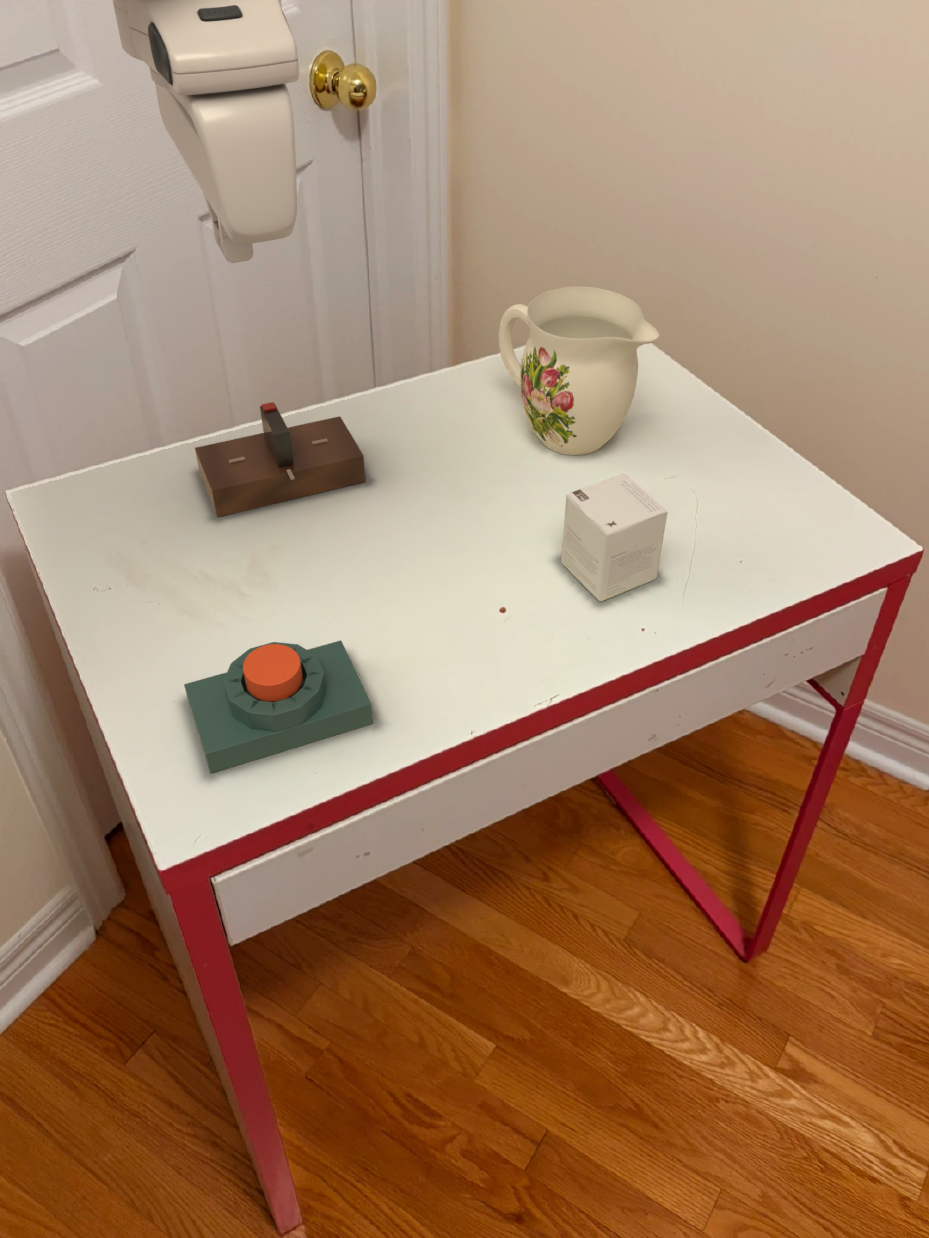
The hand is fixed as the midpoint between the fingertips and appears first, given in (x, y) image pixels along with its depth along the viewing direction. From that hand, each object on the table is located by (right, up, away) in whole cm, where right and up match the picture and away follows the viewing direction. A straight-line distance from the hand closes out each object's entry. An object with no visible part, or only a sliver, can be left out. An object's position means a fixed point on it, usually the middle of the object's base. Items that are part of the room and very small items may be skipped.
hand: (234, 252), depth 67 cm
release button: (+1, -28, +8) cm, 29 cm away
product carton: (+27, -19, +22) cm, 40 cm away
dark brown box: (-2, -8, +29) cm, 30 cm away
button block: (+1, -30, +11) cm, 32 cm away
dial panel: (-2, -10, +31) cm, 33 cm away
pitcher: (+25, -5, +37) cm, 45 cm away
